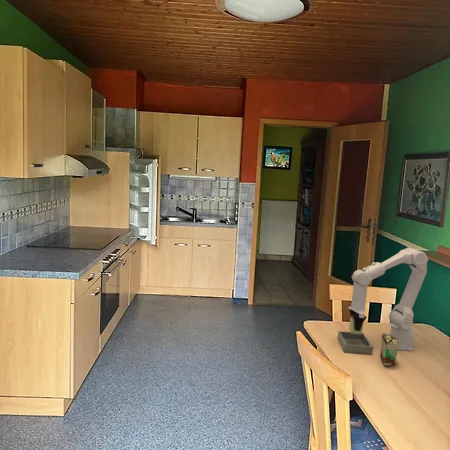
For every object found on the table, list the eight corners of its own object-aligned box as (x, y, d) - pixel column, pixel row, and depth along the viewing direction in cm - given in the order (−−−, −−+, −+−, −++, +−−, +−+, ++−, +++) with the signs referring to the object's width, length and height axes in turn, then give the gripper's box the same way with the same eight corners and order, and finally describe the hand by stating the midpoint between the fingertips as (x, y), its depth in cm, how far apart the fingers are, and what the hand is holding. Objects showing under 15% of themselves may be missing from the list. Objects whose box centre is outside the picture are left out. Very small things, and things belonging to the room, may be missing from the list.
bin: (362, 340, 196) (363, 333, 195) (372, 354, 180) (373, 347, 180) (337, 338, 196) (338, 331, 196) (344, 352, 181) (345, 344, 180)
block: (359, 330, 189) (360, 317, 189) (361, 334, 185) (363, 320, 184) (349, 329, 190) (350, 316, 189) (351, 333, 185) (352, 320, 184)
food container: (400, 370, 167) (403, 346, 166) (384, 368, 168) (387, 344, 167) (394, 357, 179) (397, 334, 178) (379, 355, 180) (382, 332, 179)
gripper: (346, 292, 193) (343, 321, 195) (353, 302, 178) (350, 333, 180) (362, 293, 192) (358, 322, 194) (370, 303, 178) (367, 335, 180)
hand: (355, 328), depth 187 cm, fingers closed on block, 4 cm apart
